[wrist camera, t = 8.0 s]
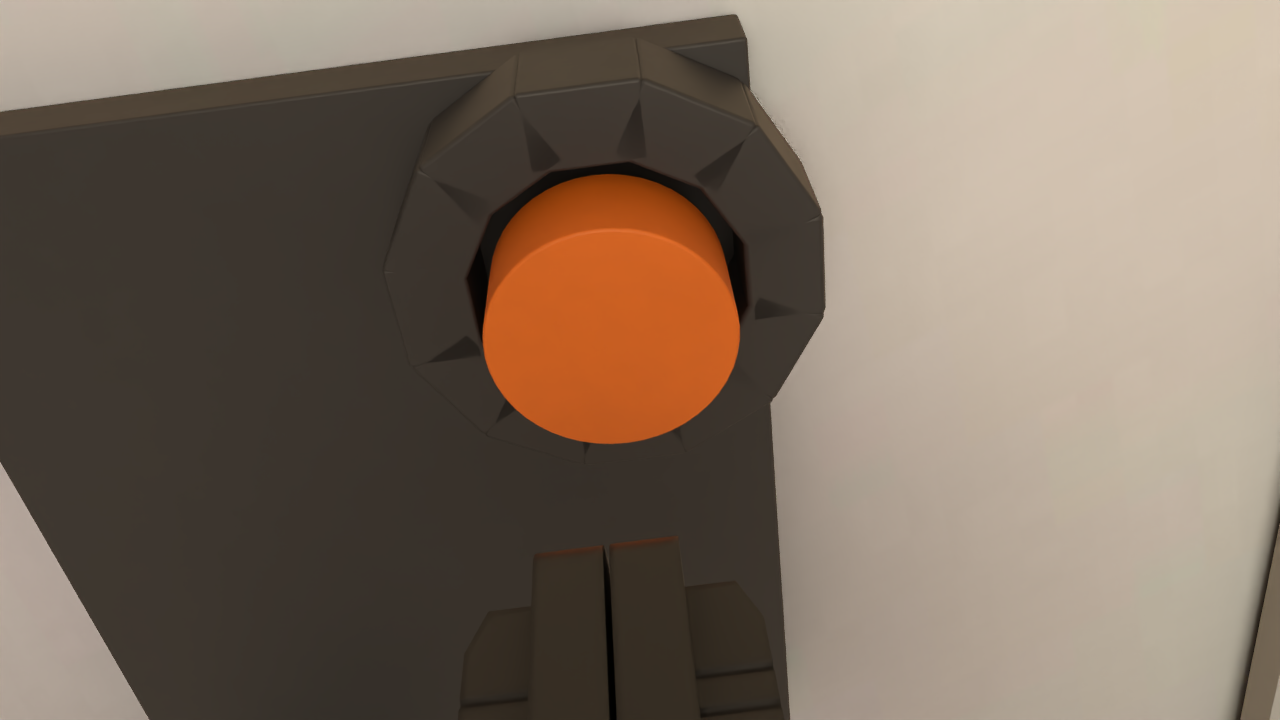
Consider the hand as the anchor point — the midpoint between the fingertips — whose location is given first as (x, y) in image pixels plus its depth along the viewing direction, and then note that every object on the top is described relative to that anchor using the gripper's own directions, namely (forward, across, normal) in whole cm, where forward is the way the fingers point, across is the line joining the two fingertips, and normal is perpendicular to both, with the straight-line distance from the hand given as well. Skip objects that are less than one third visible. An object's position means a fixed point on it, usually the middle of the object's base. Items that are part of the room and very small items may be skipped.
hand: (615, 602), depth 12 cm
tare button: (+6, 0, 0) cm, 6 cm away
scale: (+9, +4, +5) cm, 11 cm away
